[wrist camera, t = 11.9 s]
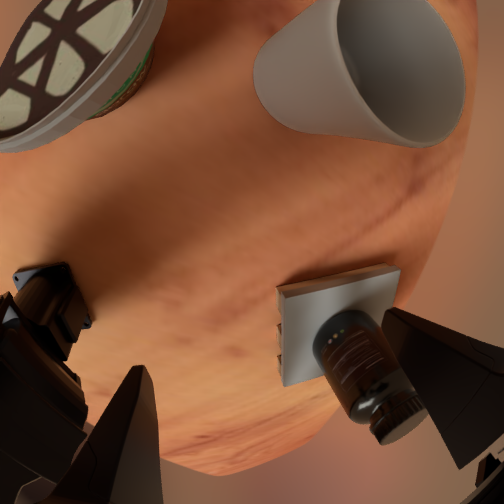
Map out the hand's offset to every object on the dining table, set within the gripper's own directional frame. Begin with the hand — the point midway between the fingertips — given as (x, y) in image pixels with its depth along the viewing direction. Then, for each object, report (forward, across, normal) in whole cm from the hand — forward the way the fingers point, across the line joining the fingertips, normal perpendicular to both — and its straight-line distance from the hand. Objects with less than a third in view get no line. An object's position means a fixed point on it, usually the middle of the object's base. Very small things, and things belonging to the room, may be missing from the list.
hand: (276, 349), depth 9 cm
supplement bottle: (+11, -10, +12) cm, 19 cm away
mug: (+13, -8, -12) cm, 20 cm away
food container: (+13, +6, -12) cm, 19 cm away
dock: (+13, -10, +12) cm, 20 cm away
